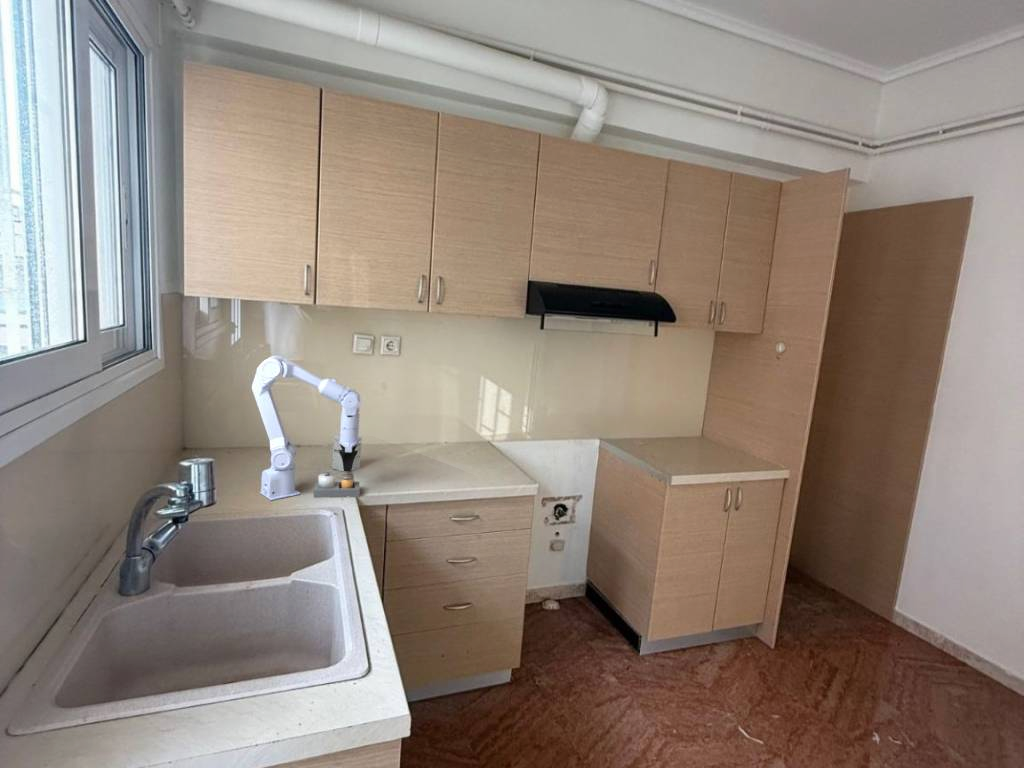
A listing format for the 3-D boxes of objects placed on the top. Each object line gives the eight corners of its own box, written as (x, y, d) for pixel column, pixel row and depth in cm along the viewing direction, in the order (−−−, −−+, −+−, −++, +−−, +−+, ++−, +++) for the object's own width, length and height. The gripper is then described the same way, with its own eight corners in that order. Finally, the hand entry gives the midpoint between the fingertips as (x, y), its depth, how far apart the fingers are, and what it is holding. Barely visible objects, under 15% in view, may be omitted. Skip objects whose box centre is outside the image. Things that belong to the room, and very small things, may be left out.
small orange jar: (344, 495, 169) (345, 478, 168) (338, 492, 172) (338, 474, 171) (355, 493, 172) (356, 475, 171) (348, 489, 175) (349, 472, 174)
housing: (313, 497, 165) (314, 476, 164) (315, 489, 172) (316, 468, 172) (359, 496, 169) (360, 476, 168) (359, 488, 177) (360, 468, 176)
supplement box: (331, 468, 195) (332, 436, 193) (346, 464, 201) (347, 433, 200) (345, 473, 191) (347, 439, 190) (360, 468, 198) (362, 436, 196)
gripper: (362, 433, 163) (360, 474, 165) (362, 422, 177) (360, 461, 179) (339, 432, 161) (337, 474, 163) (340, 422, 175) (338, 461, 176)
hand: (347, 467), depth 170 cm, fingers open, 7 cm apart
